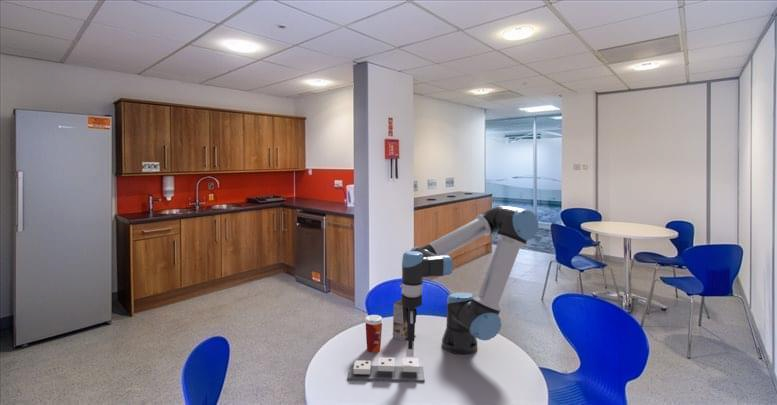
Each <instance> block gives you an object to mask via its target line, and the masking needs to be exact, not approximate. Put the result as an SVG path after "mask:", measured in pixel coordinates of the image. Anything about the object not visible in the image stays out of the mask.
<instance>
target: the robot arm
mask: <svg viewBox="0 0 777 405" xmlns="http://www.w3.org/2000/svg"><path fill="white" fill-rule="evenodd" d="M539 226H540V225H539V220H538V217H537V216H536V214H535V213H534V212H533V211H531V210H529V209H526V208H523V207H515V206H509V205H499V206H495V207H492V208H490V209H488V210H486V211H483V212H481V213H480V214H477V215H476V216H475V219H473V220H472V221H470V222H467V223H465V224H464V225H462V226H460V227H458V228H456V229H454V230H452V231H451V232H449V233H447V234H444V235H443V236H441V237H439V238H437V239H435V240H433V241H431V242H430V243H428V244H426V245H424V246H414V247H412V248H411V249H410V251H405V252H404V253H403V254H402V259H401V261H402V263H401V284H400V285H399V287H400V288H401V295H400V296H401V298H400V300H401V304H402V305H403V306H405V307H407V308H406V322H407V338H405V340H404V341H406V346H405V347H406V349H405V351H406V352H405V354H406V355H405V356H406V357H405V358H415V356H414V354H415V353H414V352H415V338H417V336H416V335H415V334H414V333H416V332H415V331H416V323H417V322H416V321H417V315H418V312H417V308H419V307H421V306H422V302H423V301H422V300H423V295H422V294H423V280H424V278H433V277H445V276H450V275H451V274H452V273H453V271H454V262H453V259H452V258H451V256H450V255H449V254H452V253H454V252H456V251H457V250H459V249H461V248H463V247H464V246H467V245H468V244H470V243H472V242H474V241H475V240H477V239H479V238H481V237H483V236H490V235H492V234H496V236H497V238H498V242H497V244H496V247H495V249H494V252H493V255H492V256H491V260H490V263H489V265H488V267H487V270H486V272H485V275H484V278H483V280H482V283H481V285H480V289H479V290H478V294H476V296H475V294H473V293H471V292H455V293H451V294H449V295H448V296H447V299H446V326H445V330H444V333H443V336H442V338H441V346H442V347H443V349H444V350H446V351H448V352H450V353H453V354H458V355H469V354H472V353H474V352H476V351H477V350H478V340H480V341H489V340H491V339H494V338H495V337H497V335H498V334H499V332H500V330H501V328H502V321H501V320H502V319H501V318H500V312H501V308H500V306H499V304H500V301H501V297H502V295H503V294H504V291H505V288H506V285H507V283H508V280H509V277H510V275H511V272H512V270H513V267H514V265H515V262H516V258H517V257H518V254H519V251H520V249H521V248H523V247H525V246H526V245H527V242H528V241H530V240H532V239H533V238H534V237H536V235H537V234H538V231H539ZM477 339H478V340H477Z"/></svg>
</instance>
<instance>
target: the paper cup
mask: <svg viewBox="0 0 777 405" xmlns="http://www.w3.org/2000/svg"><path fill="white" fill-rule="evenodd" d="M364 322H365V336H366V337H365V338H366V350H367V352H368V353H372V354H373V353H374V354H376V353H378V352H379V353H380V351H381V345H382V331H383V323H384V320H383V317H382V316H381V315H379V314H370V315H367V316H366V317H365V319H364Z"/></svg>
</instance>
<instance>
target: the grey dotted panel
mask: <svg viewBox="0 0 777 405" xmlns="http://www.w3.org/2000/svg"><path fill="white" fill-rule="evenodd" d="M353 369H354V364H351V365H350V366H349V370H348V374H347V375H348V376H347V381H366V382H367V381H368V382H404V383H405V382H407V383H425V381H426V380H425V371H424V366H419V372H405V371H403V366H402V365H401V366H399V365H398V366H396V365H395V366H394V371H378V365H371V369H370V374H353Z"/></svg>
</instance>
